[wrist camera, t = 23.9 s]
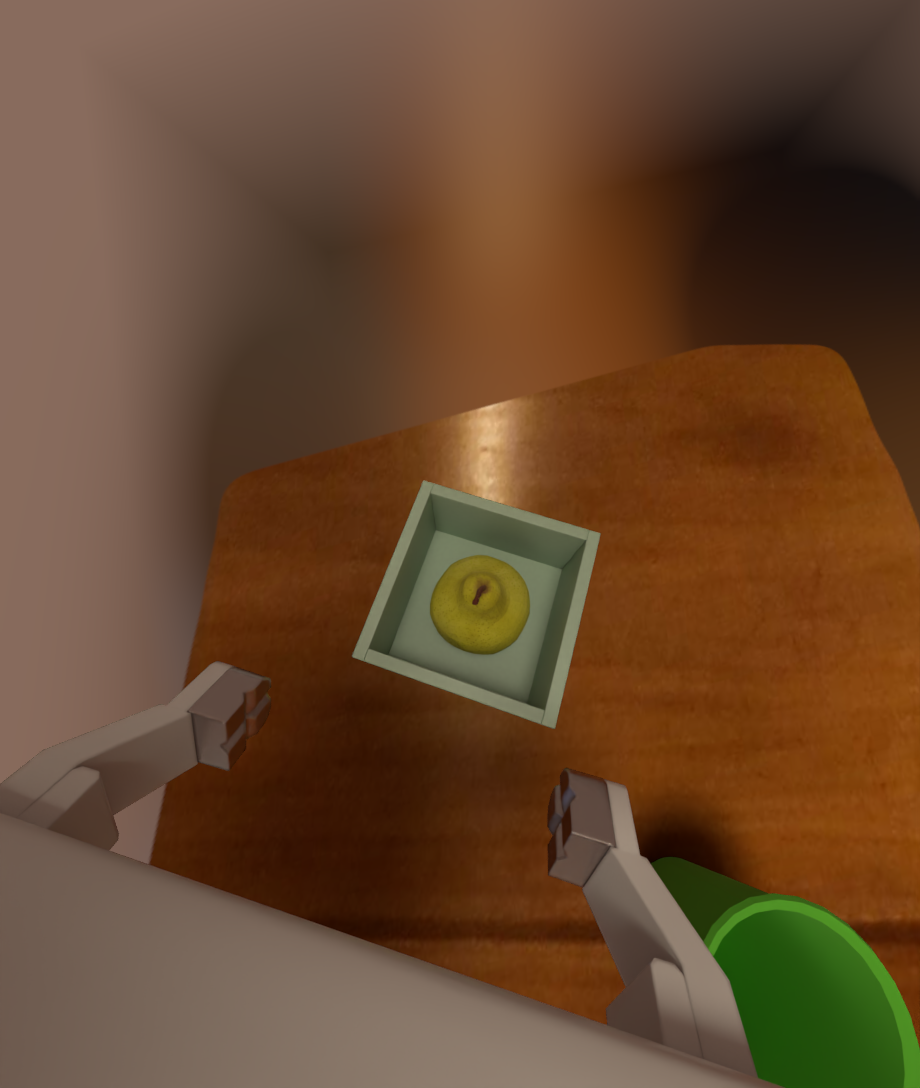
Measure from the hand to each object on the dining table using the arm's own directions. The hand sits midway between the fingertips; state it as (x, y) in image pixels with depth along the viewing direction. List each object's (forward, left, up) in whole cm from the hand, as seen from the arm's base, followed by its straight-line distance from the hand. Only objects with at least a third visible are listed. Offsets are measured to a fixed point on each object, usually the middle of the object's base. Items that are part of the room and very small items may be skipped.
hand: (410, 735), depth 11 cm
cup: (+18, -6, -21) cm, 29 cm away
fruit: (0, +7, -21) cm, 22 cm away
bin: (0, +8, -21) cm, 23 cm away
